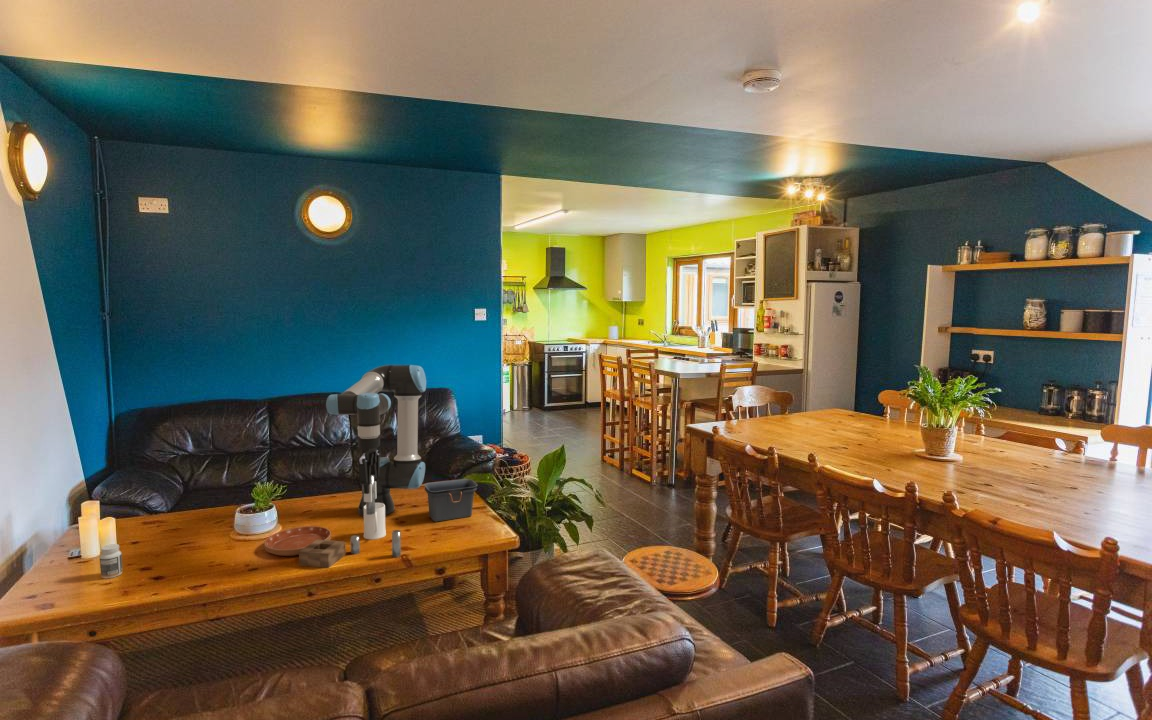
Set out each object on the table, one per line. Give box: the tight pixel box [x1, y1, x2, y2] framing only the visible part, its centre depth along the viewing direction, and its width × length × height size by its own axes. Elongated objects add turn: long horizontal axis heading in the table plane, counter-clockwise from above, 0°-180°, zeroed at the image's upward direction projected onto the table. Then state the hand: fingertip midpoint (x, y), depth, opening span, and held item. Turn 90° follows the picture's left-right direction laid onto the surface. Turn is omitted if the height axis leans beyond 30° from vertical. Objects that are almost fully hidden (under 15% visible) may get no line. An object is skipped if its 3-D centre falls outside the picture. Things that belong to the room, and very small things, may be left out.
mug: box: [363, 503, 387, 540], centre depth 234 cm, size 12×8×12 cm
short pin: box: [350, 534, 361, 555], centre depth 219 cm, size 3×3×6 cm
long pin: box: [366, 474, 375, 515], centre depth 216 cm, size 3×3×14 cm
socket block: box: [298, 539, 346, 569], centre depth 212 cm, size 11×11×5 cm
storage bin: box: [423, 478, 478, 523], centre depth 256 cm, size 21×16×14 cm
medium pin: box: [391, 529, 402, 558], centre depth 217 cm, size 3×3×9 cm
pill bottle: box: [99, 543, 124, 580], centre depth 198 cm, size 6×6×10 cm
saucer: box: [263, 525, 332, 557], centre depth 225 cm, size 23×23×4 cm
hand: (370, 499), depth 216 cm, fingers closed on long pin, 3 cm apart
